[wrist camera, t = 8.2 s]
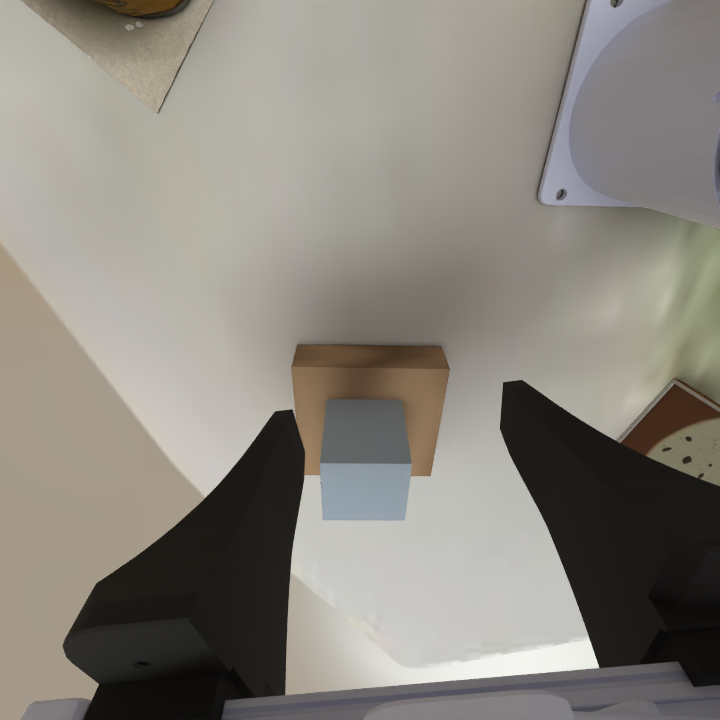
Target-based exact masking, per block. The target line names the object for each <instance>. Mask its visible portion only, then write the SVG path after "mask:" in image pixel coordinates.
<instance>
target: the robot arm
mask: <svg viewBox="0 0 720 720" xmlns="http://www.w3.org/2000/svg"><path fill="white" fill-rule="evenodd" d="M560 189H563V195H562V197H560V198H559V199H556V194H557V192H558V191H559V190H560ZM538 199H539V201H540V202H541V203H542V204H545V205H558V206H606V207H645V208H649V209H652V210H655V211H659V212H662V213H665V214H669V215H672V216H675V217H679V218H682V219H686V220H689V221H692V222H696V223H699V224H702V225H706V226H709V227H713V228H716V229H719V230H720V0H618V3H617V6H616V7H615V8H614V7H612V6H611V4H610V0H587V3H586V7H585V11H584V15H583V19H582V23H581V27H580V31H579V35H578V38H577V42H576V46H575V50H574V54H573V58H572V62H571V66H570V70H569V74H568V78H567V82H566V86H565V90H564V93H563V97H562V101H561V105H560V109H559V113H558V117H557V121H556V125H555V129H554V133H553V137H552V141H551V144H550V148H549V152H548V156H547V160H546V164H545V168H544V172H543V176H542V180H541V184H540V188H539V192H538ZM500 430H501V433H502V435H503V438H504V441H505V444H506V446H507V449H508V451H509V454H510V456H511V458H512V460H513V462H514V464H515V466H516V468H517V470H518V471H519V473H520V475H521V477H522V479H523V481H524V483H525V485H526V487H527V488H528V490H529V492H530V494H531V496H532V498H533V500H534V501H535V503H536V505H537V507H538V509H539V511H540V513H541V515H542V517H543V519H544V521H545V523H546V525H547V527H548V530H549V532H550V535H551V537H552V540H553V542H554V544H555V547H556V549H557V552H558V554H559V557H560V559H561V562H562V564H563V567H564V570H565V572H566V575H567V577H568V580H569V582H570V585H571V588H572V590H573V593H574V596H575V599H576V601H577V604H578V607H579V610H580V612H581V615H582V618H583V621H584V623H585V626H586V629H587V632H588V635H589V638H590V641H591V644H592V647H593V650H594V653H595V656H596V659H597V662H598V664H599V668H597V669H585V670H574V671H562V672H550V673H538V674H527V675H515V676H503V677H493V678H480V679H469V680H457V681H446V682H434V683H422V684H412V685H411V684H410V685H399V686H388V687H376V688H364V689H353V690H342V691H329V692H317V693H306V694H295V695H285V680H286V675H285V674H286V643H287V617H288V598H289V582H290V570H291V557H292V548H293V540H294V534H295V529H296V523H297V517H298V512H299V506H300V500H301V495H302V489H303V483H304V472H305V449H304V446H303V443H302V439H301V436H300V433H299V430H298V426H297V423H296V420H295V416H294V413H293V410H292V409H291V410H283V411H276V412H274V414H273V415H272V416H271V418H270V419H269V420H268V422H267V423H266V425H265V426H264V427H263V429H262V430H261V432H260V433H259V435H258V436H257V437H256V439H255V440H254V441H253V443H252V444H251V445H250V447H249V448H248V449H247V451H246V452H245V453H244V455H243V456H242V457H241V459H240V460H239V461H238V462H237V463H236V465H235V466H234V467H233V468H232V469H231V471H230V472H229V473H228V474H227V475H226V477H225V478H224V479H223V480H222V481H221V482H220V483H219V485H218V486H217V487H216V488H215V489H214V490H213V491H212V492H211V493H210V494H209V495H208V496H207V497H206V498H205V499H204V500H203V501H202V502H201V503H200V504H199V505H198V506H197V507H196V508H194V509H193V510H192V511H191V512H190V513H189V514H188V515H187V516H185V517H184V518H183V519H182V520H181V521H180V522H179V523H178V524H177V525H175V526H174V527H173V528H172V529H171V530H169V531H168V532H167V533H166V534H165V535H163V536H162V537H161V538H160V539H158V540H157V541H156V542H155V543H153V544H152V545H151V546H149V547H148V548H147V549H145V550H144V551H143V552H141V553H140V554H139V555H137V556H136V557H135V558H133V559H132V560H130V561H129V562H127V563H126V564H124V565H123V566H121V567H120V568H119V569H117V570H116V571H114V572H113V573H111V574H110V575H108V576H107V577H105V578H104V579H102V580H101V581H99V582H98V583H97V584H96V585H95V587H94V589H93V590H92V592H91V594H90V595H89V597H88V599H87V601H86V603H85V604H84V606H83V608H82V610H81V611H80V613H79V615H78V617H77V619H76V621H75V622H74V624H73V626H72V628H71V629H70V631H69V633H68V635H67V637H66V638H65V641H64V644H63V649H64V652H65V655H66V657H67V658H68V659H69V660H70V661H71V662H72V663H73V664H74V665H75V666H77V667H78V668H79V669H80V670H82V671H83V672H84V673H86V674H87V675H88V676H90V677H91V678H92V679H94V680H95V681H96V682H97V683H99V686H98V688H97V690H96V693H95V695H94V697H93V699H92V701H91V700H88V699H83V698H68V699H57V700H45V701H35V702H33V703H32V704H30V705H29V706H28V708H27V710H26V712H25V713H24V715H23V717H22V719H21V720H720V486H718V485H715V484H712V483H710V482H707V481H704V480H702V479H699V478H696V477H694V476H691V475H689V474H686V473H684V472H681V471H679V470H677V469H674V468H672V467H670V466H667V465H665V464H663V463H660V462H658V461H656V460H654V459H651V458H649V457H647V456H645V455H643V454H641V453H639V452H637V451H635V450H633V449H631V448H629V447H627V446H625V445H623V444H621V443H619V442H617V441H615V440H613V439H612V438H610V437H608V436H606V435H604V434H603V433H601V432H599V431H598V430H596V429H594V428H593V427H591V426H589V425H588V424H586V423H584V422H583V421H581V420H580V419H578V418H576V417H575V416H573V415H572V414H570V413H569V412H567V411H566V410H564V409H563V408H561V407H560V406H558V405H557V404H555V403H554V402H553V401H551V400H550V399H548V398H547V397H545V396H544V395H543V394H541V393H540V392H538V391H537V390H536V389H534V388H533V387H531V386H530V385H528V384H527V383H526V382H524V381H523V380H518V381H510V382H503V394H502V407H501V421H500Z"/></svg>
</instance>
